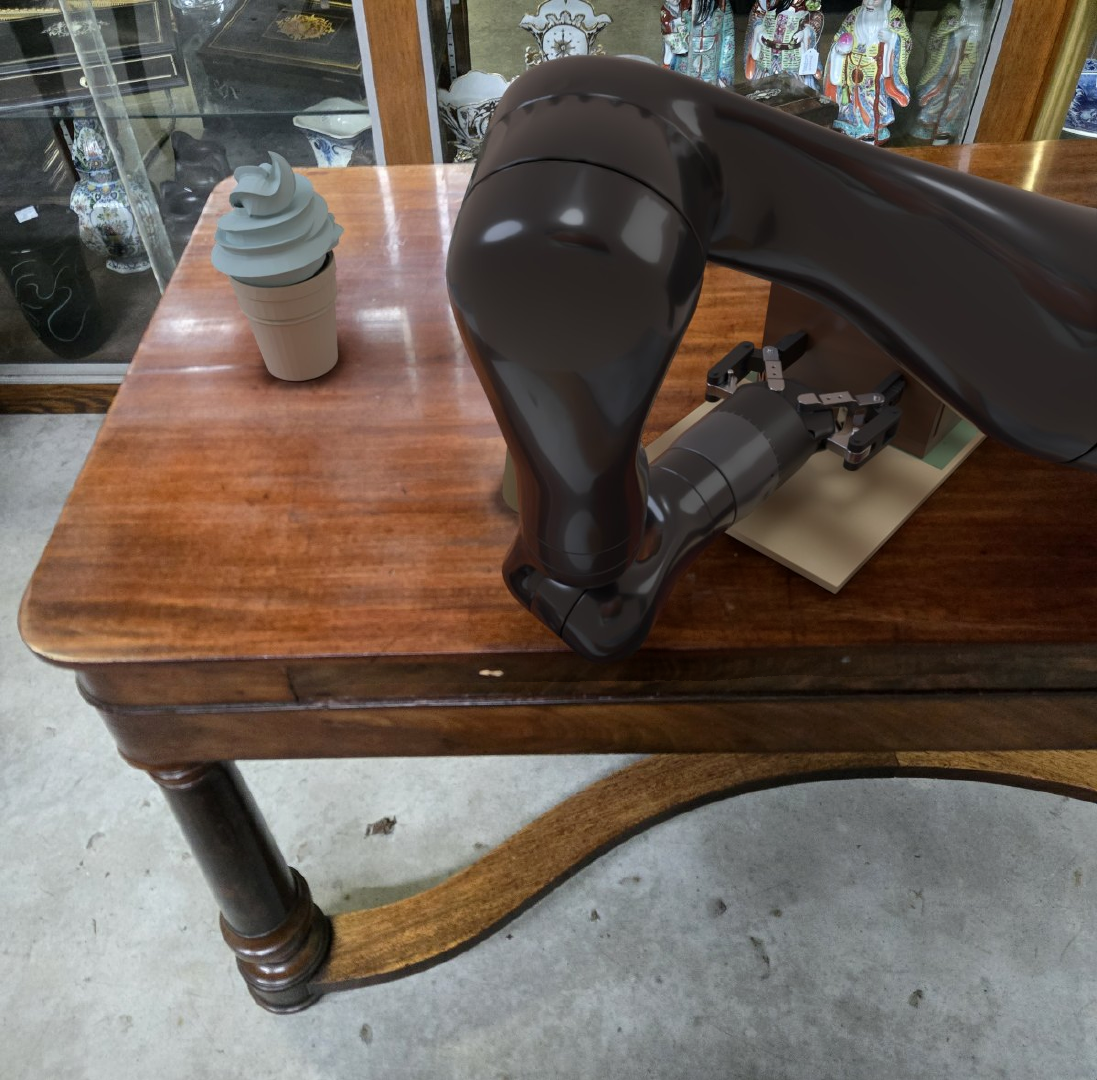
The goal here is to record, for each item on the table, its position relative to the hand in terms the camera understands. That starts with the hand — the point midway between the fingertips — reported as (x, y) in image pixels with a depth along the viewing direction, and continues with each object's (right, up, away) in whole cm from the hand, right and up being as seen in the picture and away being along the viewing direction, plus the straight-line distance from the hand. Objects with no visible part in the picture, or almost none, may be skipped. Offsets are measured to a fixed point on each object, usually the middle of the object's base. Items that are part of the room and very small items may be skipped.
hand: (849, 360), depth 83 cm
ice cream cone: (-47, +2, +13) cm, 49 cm away
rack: (+3, -2, +7) cm, 8 cm away
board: (-1, -6, +3) cm, 7 cm away
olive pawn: (-25, -11, 0) cm, 27 cm away
